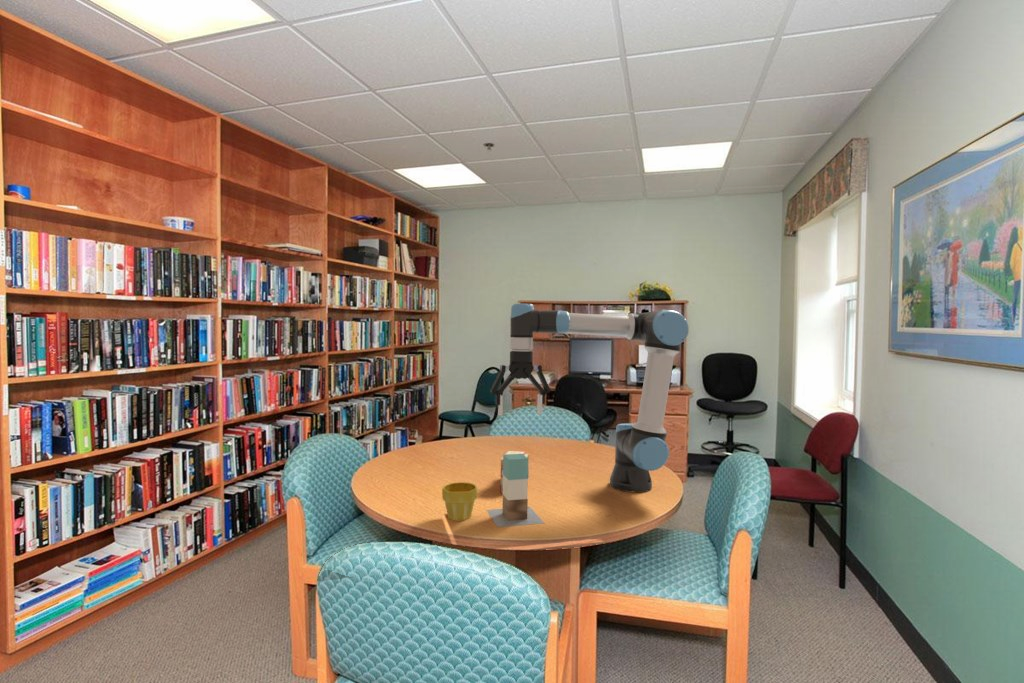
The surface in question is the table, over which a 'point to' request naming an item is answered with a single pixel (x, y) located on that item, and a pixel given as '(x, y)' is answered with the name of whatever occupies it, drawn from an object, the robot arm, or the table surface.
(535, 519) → the plate
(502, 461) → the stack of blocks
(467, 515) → the plant pot
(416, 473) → the table surface
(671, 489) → the table surface
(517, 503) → the walnut cube
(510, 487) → the cream cube
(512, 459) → the teal cube
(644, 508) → the table surface
